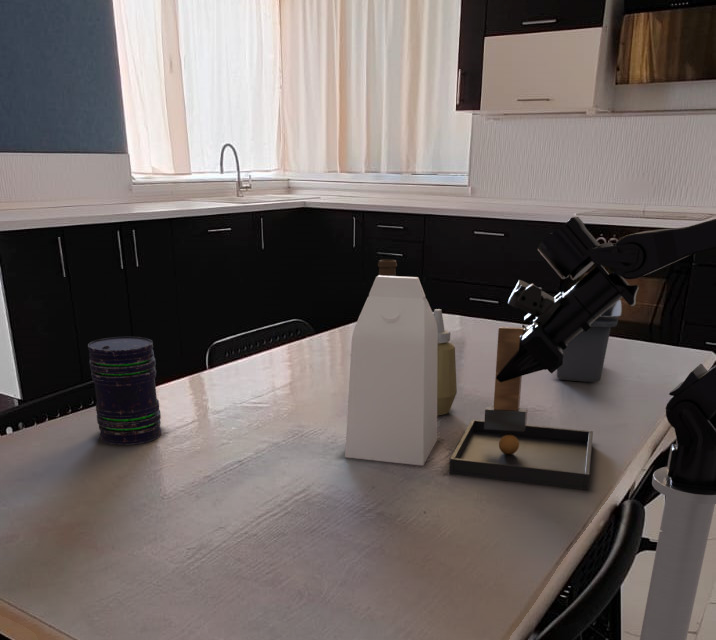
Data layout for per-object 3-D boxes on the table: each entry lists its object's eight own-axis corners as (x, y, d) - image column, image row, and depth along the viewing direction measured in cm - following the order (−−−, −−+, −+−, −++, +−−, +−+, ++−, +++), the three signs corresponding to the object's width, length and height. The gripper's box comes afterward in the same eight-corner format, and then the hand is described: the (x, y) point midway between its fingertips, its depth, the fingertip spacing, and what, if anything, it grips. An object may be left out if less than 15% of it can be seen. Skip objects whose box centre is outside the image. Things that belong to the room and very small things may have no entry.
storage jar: (132, 421, 131) (122, 334, 125) (175, 431, 126) (166, 341, 120) (86, 438, 123) (72, 345, 117) (130, 449, 119) (118, 353, 113)
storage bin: (612, 388, 153) (622, 315, 147) (533, 381, 157) (540, 310, 151) (612, 363, 171) (621, 298, 166) (541, 358, 175) (548, 294, 170)
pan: (591, 444, 122) (592, 431, 121) (587, 490, 105) (589, 474, 104) (470, 432, 127) (471, 419, 126) (449, 473, 110) (449, 458, 109)
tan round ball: (518, 451, 118) (523, 434, 116) (514, 460, 115) (518, 442, 114) (499, 446, 118) (503, 429, 117) (494, 454, 116) (498, 437, 114)
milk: (436, 440, 123) (445, 273, 113) (423, 465, 113) (431, 284, 103) (364, 433, 126) (367, 270, 116) (344, 457, 116) (345, 280, 106)
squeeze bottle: (419, 419, 133) (423, 315, 126) (404, 406, 140) (407, 306, 133) (462, 416, 135) (469, 313, 128) (445, 403, 142) (451, 304, 135)
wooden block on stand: (526, 427, 118) (533, 327, 114) (524, 431, 115) (532, 328, 111) (486, 425, 120) (492, 326, 116) (483, 429, 116) (490, 327, 112)
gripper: (545, 254, 116) (467, 324, 123) (546, 270, 100) (456, 350, 106) (592, 309, 118) (514, 375, 124) (601, 333, 101) (510, 408, 108)
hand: (498, 376), depth 116 cm, fingers closed on wooden block on stand, 4 cm apart
